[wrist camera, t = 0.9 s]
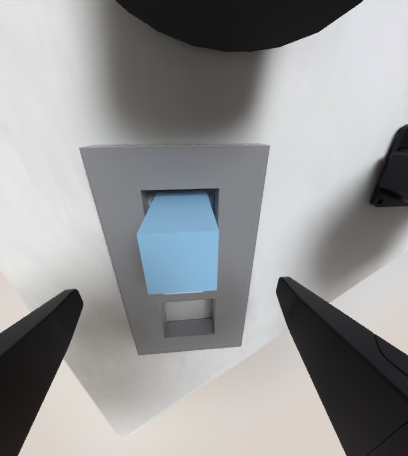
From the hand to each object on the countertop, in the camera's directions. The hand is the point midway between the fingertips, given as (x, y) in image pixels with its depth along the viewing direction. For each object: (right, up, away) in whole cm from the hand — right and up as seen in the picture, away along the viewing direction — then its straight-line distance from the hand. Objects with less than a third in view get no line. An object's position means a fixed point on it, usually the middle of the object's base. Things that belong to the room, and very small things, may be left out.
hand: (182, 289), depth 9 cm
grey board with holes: (-1, -1, +10) cm, 10 cm away
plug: (-1, +4, +8) cm, 9 cm away
